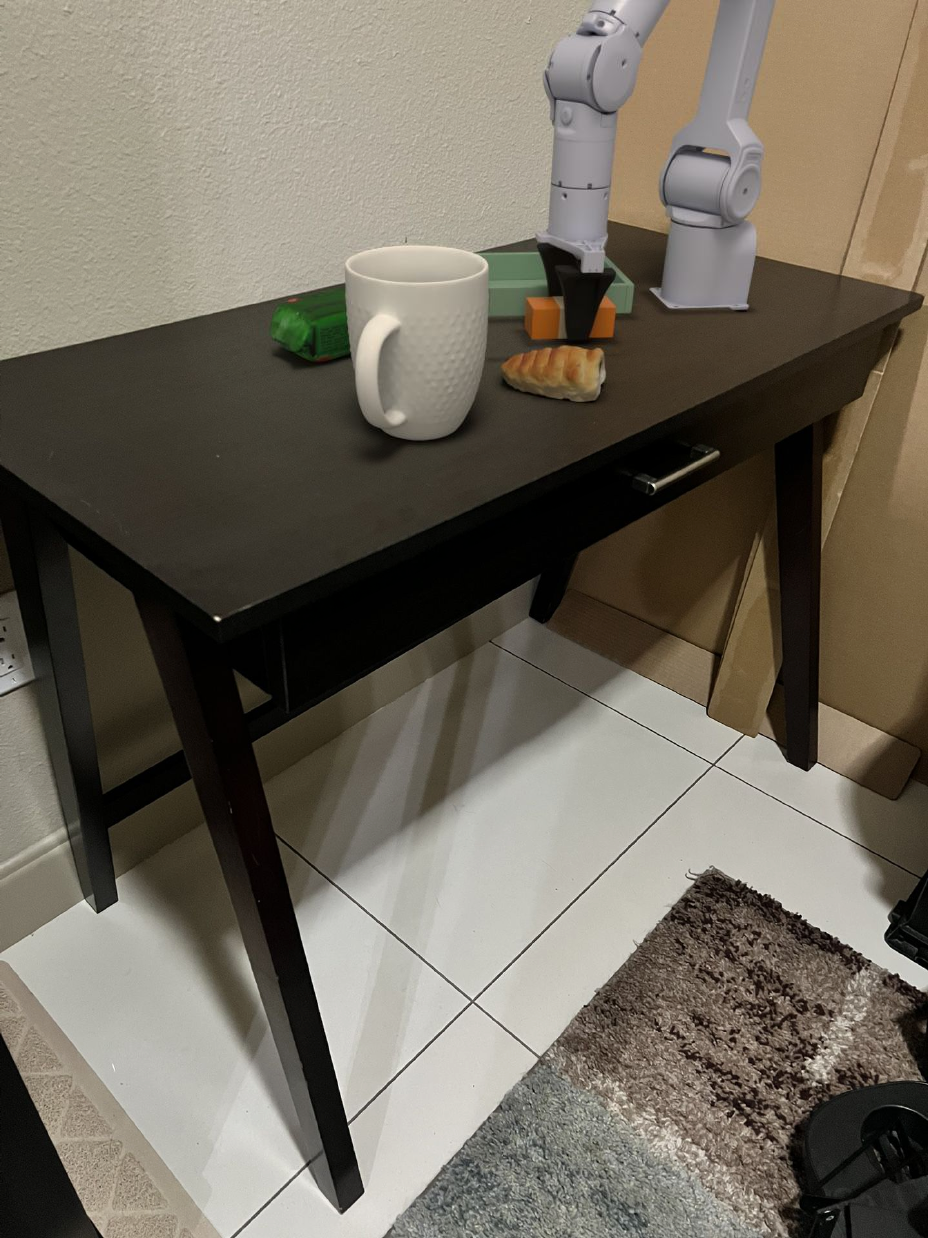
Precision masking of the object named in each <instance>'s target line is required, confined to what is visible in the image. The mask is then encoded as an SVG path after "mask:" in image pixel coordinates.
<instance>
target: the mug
mask: <svg viewBox="0 0 928 1238" xmlns="http://www.w3.org/2000/svg"><path fill="white" fill-rule="evenodd" d="M475 253H476V252H471V251H469V250H464V249H460V248H455V247H448V246H438V245H422V244H421V245H420V244H419V245H418V244H417V245H415V244H414V245H412V244H411V245H410V244H409V245H408V244H406V245H392V246H384V247H377V248H371V249H367V250H363V251H361V252H357V253H356V254H353V255H351V256H350V257H348V258H347V259H346V260H345V262H344V281H345V282H344V283H345V287H346V294H345V297H346V305H347V306H346V307H347V313H346V314H347V318H348V319H347V323H348V333H349V341H350V351H351V354H350V357H351V361H352V367H353V370H354V374H355V377H354V378H355V390H356V396H357V400H358V404H359V407H360V410H361V412H362V415H363V417H364V418H365V419H366V421H367V422H368V423H369V424H371V425H372V426H373V427H375V428H379V429H381V430H382V431H383V432H384V433H385V434H388V435H389V436H392V437H394V438H399V439H402V440H408V441H430V440H431V441H432V440H437V439H441V438H444V437H447V436H449V435H451V434H453V433H454V432H455V431H456V430H458V428H459V427H460V426H461V425H462V424H463V422H464V420H465V419H466V417H467V415H468V414H469V411H470V410H471V408H472V406H473V404H474V402H475V399H476V395H477V393H478V391H479V387H480V383H481V379H482V376H483V369H484V366H485V360H486V352H487V351H486V350H487V343H488V341H487V339H488V337H487V336H488V333H489V332H488V331H489V330H488V326H489V317H488V304H489V302H488V299H489V293H488V291H489V267H488V263H487V261H486V260H485V259H484V258H483V257H481V256H479V255H477V254H475Z"/></svg>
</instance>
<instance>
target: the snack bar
mask: <svg viewBox="0 0 928 1238" xmlns="http://www.w3.org/2000/svg"><path fill="white" fill-rule="evenodd" d="M616 314H617V313H616V306H615V305H614V304H613V303H612V302H611V301H610V300H609V298H608V297H607V296H604V297H603V299H602V302H601V304H600V306H599V309H598V312H597V315H596V318H595V321H594V325H593V328H592V331H591V334H590V336H589V339H592V338H594V339H596V338H614V329H615V320H616ZM524 329H525V331H526V332H527V334H528V336H529V338H530V339H531V340H557V339H558V340H559V339H568V338H567V335H566V329H565V312H564V300H563V296H557V297H527V298H526V308H525V316H524Z"/></svg>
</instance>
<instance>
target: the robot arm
mask: <svg viewBox="0 0 928 1238" xmlns="http://www.w3.org/2000/svg"><path fill="white" fill-rule="evenodd" d="M670 2H671V0H594V1H593V3H592V4H591V6H590V8H589V9H588V11H587V12H586V13H585V15H584V17H583V19H582V21H581V23H580V24H579V26H578V27H577V28H576V31H575V33H570V34H568V36H564V37H562V39H561V40H560V41H559V42H558V44H556V45H555V46H554V48H553V49H552V51H551V53H550V54H549V57H548V60H547V61H548V62H547V65H546V69H543V71H542V83H543V88H544V92H545V94H546V97H547V99H548V101H549V106H550V109H549V110H550V112H549V121H551V125H552V126H553V143H552V157H551V174H550V189H549V202H548V203H549V205H548V219H547V220H548V221H547V228H546V230H537V231H535V236H534V239H535V240H536V242H537V243H538V244H537V245H536V249H537V252H539V254H540V256H541V259H542V262H543V265H544V269H545V274H546V279H547V286H548V295H549V297H557V296H563V300H564V312H565V329H566V335H567V338H566V339H567V341H587V340H589V339H590V338H589V336H590V334H591V331H592V328H593V325H594V321H595V318H596V315H597V312H598V309H599V306H600V304H601V302H602V299H603V297H604V295H605V293H606V292H607V290H608V288H609V287H610V285H611V284H612V283H613V281H614V280H615V277H616V271H615V270H614V269H613V268H604V259H605V256H606V250H605V249H606V247H607V245H608V241H609V233H608V232H607V231H608V220H609V209H610V199H611V188H612V178H613V170H614V169H613V168H614V157H615V148H616V139H617V138H616V137H617V129H618V118H619V117H618V116H619V109H621V108H622V107H623V106H624V105H625V104H626V103H627V102H628V101H629V98H631V97H632V95H633V93H634V90H635V88H636V87H635V86H636V84H637V80H638V79H637V78H638V70H639V66H640V63H641V61H642V60H643V54H644V50H643V48H644V46H645V44H646V43H647V42H648V39H649V38H650V36H651V34H652V33H653V31H654V29H655V27H656V26H657V25H658V22H659V21H660V19H661V17H662V16H663V15H664V12H665V11H666V9H667V7H668V6H669V4H670ZM775 6H776V0H719V5H718V9H717V15H716V20H715V24H714V28H713V34H712V38H711V43H710V48H709V51H708V57H707V63H706V68H705V71H704V76H703V81H702V86H701V90H700V96H699V101H698V104H697V105H698V106H697V110H696V115H695V117H694V118H693V119H692V120H691V121H690V122H688V123H687V124H686V125H684V126H683V127H682V128H681V129H680V130H679V131H677V132H676V133H675V134H674V135H673V136H672V137H673V138H672V142H671V146H670V150H669V153H668V156H667V158H666V159H665V161H664V163H663V165H662V167H661V169H660V174H659V178H658V196H659V200H660V202H661V205H662V206H664V208H665V217H668V218H670V221H669V228H668V236H667V241H666V250H665V257H664V264H663V272H662V279H661V287H650V288H649V291H650V292H651V293H653V294H654V296H656V297H657V298H658V300H660V301H661V302H662V303H663V304H664V305H665V306H666V307H667V308H669V309H700V308H701V309H702V308H703V309H704V308H707V309H708V308H729V309H731V310H732V311H747V310H749V309H750V305H749V304H748V298H749V293H750V287H751V283H752V277H753V272H754V266H755V262H756V256H757V249H758V235H757V230H756V226H755V224H754V223H753V222H752V221H751V220H746V219H747V217H749V215H750V214H751V212H753V210H754V208H755V207H756V205H757V202H758V201H759V198H760V194H761V191H762V182H763V179H762V166H763V165H762V164H763V159H764V154H765V151H766V148H765V146H764V145H763V142H761V140H760V139H759V138H758V136H757V135H756V134H755V132H754V131H753V130H752V128H751V127H750V126H749V124H748V122H749V121H748V120H749V117H750V113H751V112H750V111H751V108H752V105H753V100H754V99H753V98H754V95H755V90H756V87H757V82H758V77H759V73H760V69H761V66H762V61H763V56H764V52H765V47H766V43H767V40H768V35H769V31H770V27H771V22H772V18H773V15H774V14H773V13H774V9H775ZM706 149H712V150H716V151H717V150H718V151H722V152H725V153H726V154H727V155H725V154H717V153H712V152H708V151H707V152H705V151H704V150H706Z"/></svg>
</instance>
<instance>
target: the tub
mask: <svg viewBox="0 0 928 1238" xmlns="http://www.w3.org/2000/svg"><path fill="white" fill-rule="evenodd" d="M474 253H475V254H477V255H479V256H481V257H483V258H484V259H485V260H486V261H487V263H488V267H489V291H488V293H489V299H488V302H489V304H488V318H491V317H525V308H526V298H527V297H549V295H548V286H547V279H546V274H545V269H544V265H543V262H542V259H541V256H540V254H539V251H525V252H524V251H522V252H521V251H520V252H519V251H518V252H474ZM604 268H613V269H614V270H615V271H616V277H615V280H614V281H613V283H612V284H611V285H610V287H609V288H608V290H607V292H606V293H605V295H604V296H607V297H608V298H609V300H610V301H611V302H612V303H613V304H614V305H615V306H616V313H615V314H631V313H632V311H633V310H632V309H633V301H634V292H635V284H634V283H633V282H632V281H631V280H630V279H629V278H628V276H627V275H625V274H624V273H623V272H622V270H620V268H618V266H617V265H616V264H615V263H614V262H613V261H611V259H610V258H608V257H607V256H606V255H605V259H604Z"/></svg>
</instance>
